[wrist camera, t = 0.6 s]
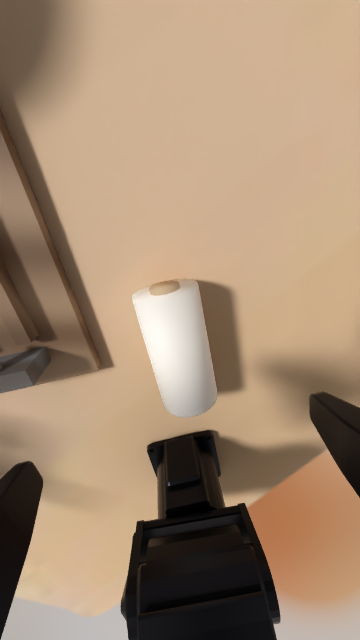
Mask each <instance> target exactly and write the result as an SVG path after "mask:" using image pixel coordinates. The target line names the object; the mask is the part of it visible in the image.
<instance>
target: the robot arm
mask: <svg viewBox="0 0 360 640" xmlns="http://www.w3.org/2000/svg"><path fill="white" fill-rule="evenodd" d="M309 406H310V418H311V420H312V422H313V424H314V426H315V427H316V429H317V431H318V433H319V434H320V436H321V438H322V440H323V441H324V443H325V445H326V446H327V448H328V450H329V452H330V453H331V455H332V457H333V459H334V460H335V462H336V464H337V465H338V467H339V469H340V470H341V471H342V473H343V475H344V476H345V477H346V479H347V480H348V482H349V483H350V484H351V486H352V487H353V489H354V490H355V492H356V493H357V494H358V496H359V497H360V408H359V407H357V406H354V405H352V404H350V403H348V402H346V401H343V400H341V399H339V398H337V397H335V396H332V395H330V394H328V393H326V392H318V393H314V394H311V395H310V397H309ZM207 436H208V437H207ZM147 452H148V455H149V458H150V461H151V463H152V466H153V469H154V471H155V474H156V477H157V480H158V519H156V520H150V521H144V520H142V521H137V526H136V533H134V536H133V542H132V550H131V556H130V563H129V570H128V576H127V580H126V584H125V588H124V592H123V596H122V600H121V613H122V615H123V616H124V618H125V619H126V621H127V629H128V639H129V640H277V639H276V634H275V630H274V626H273V624H278V623H280V610H279V605H278V600H277V595H276V591H275V587H274V583H273V579H272V575H271V572H270V569H269V566H268V562H267V560H266V557H265V554H264V551H263V549H262V546H261V544H260V541H259V539H258V536H257V534H256V531H255V528H254V526H253V523H252V521H251V518H250V516H249V513H248V510H247V508H246V505H245V503H240V504H238V505H237V506H231V507H225V503H224V499H223V495H222V491H221V487H220V483H219V478H218V477H219V476H220V475H221V472H220V467H219V462H218V458H217V453H216V448H215V443H214V438H213V434H212V432H211V431H205V432H200V433H196V434H192V435H187V436H183V437H178V438H174V439H170V440H165V441H161V442H156V443H152V444H149V445H148V447H147ZM42 488H43V479H42V476H41V475H40V473H39V471H38V470H37V468H36V467H35V465H34V463H33V462H31V461H27V462H22V463H19V464H16V465H15V466H14V467H13V468H12V469H11V470H10V471H8V472H7V473H6V474H5V475H4V476H3V477H2V478H1V479H0V639H1V636H2V633H3V630H4V627H5V623H6V620H7V617H8V613H9V610H10V607H11V604H12V601H13V597H14V594H15V591H16V588H17V585H18V581H19V578H20V575H21V572H22V568H23V565H24V562H25V559H26V555H27V552H28V548H29V545H30V541H31V537H32V533H33V529H34V524H35V520H36V515H37V510H38V506H39V501H40V497H41V492H42Z"/></svg>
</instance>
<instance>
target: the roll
mask: <svg viewBox="0 0 360 640" xmlns="http://www.w3.org/2000/svg"><path fill="white" fill-rule="evenodd" d="M132 300H133V304H134V307H135V310H136V314H137V317H138V321H139V324H140V327H141V331H142V334H143V337H144V341H145V344H146V347H147V351H148V354H149V357H150V361H151V364H152V368H153V371H154V374H155V378H156V381H157V384H158V388H159V391H160V394H161V398H162V401H163V404H164V407H165V409H166V410H167V411H168V412H169V413H171V414H172V415H175V416H178V417H193V416H197V415H200V414H202V413H204V412H206V411H207V410H209V409H210V408H211V407H212V406H213V405H214V403H215V402H216V399H217V395H218V394H217V387H216V382H215V376H214V370H213V365H212V359H211V353H210V348H209V342H208V337H207V331H206V325H205V320H204V314H203V308H202V303H201V297H200V291H199V286H198V282H197V281H195V280H191V279H175V280H170V281H164V282H160V283H157V284H153V285H150V286H147V287H145V288H143V289H141V290H139V291H137V292H136V293H135V294H134V295H133V296H132Z"/></svg>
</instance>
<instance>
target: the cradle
mask: <svg viewBox="0 0 360 640" xmlns="http://www.w3.org/2000/svg"><path fill="white" fill-rule="evenodd" d="M100 365H101V362H100V360H99V357H98V355H97V352H96V350H95V347H94V345H93V342H92V340H91V337H90V335H89V332H88V330H87V327H86V325H85V322H84V320H83V317H82V315H81V312H80V310H79V307H78V305H77V302H76V300H75V297H74V295H73V292H72V290H71V287H70V285H69V282H68V279H67V277H66V274H65V272H64V269H63V267H62V264H61V262H60V259H59V257H58V254H57V252H56V249H55V247H54V244H53V242H52V239H51V237H50V234H49V232H48V229H47V227H46V224H45V222H44V219H43V217H42V214H41V212H40V209H39V207H38V204H37V202H36V199H35V196H34V194H33V191H32V189H31V186H30V184H29V181H28V179H27V176H26V174H25V171H24V169H23V166H22V164H21V161H20V159H19V156H18V154H17V151H16V149H15V146H14V144H13V141H12V139H11V136H10V134H9V131H8V129H7V126H6V124H5V121H4V119H3V116H2V113H1V111H0V393H3V392H8V391H12V390H17V389H21V388H26V387H30V386H34V385H38V384H43V383H47V382H51V381H56V380H60V379H65V378H69V377H74V376H78V375H82V374H87V373H91V372H96V371H99V368H100Z"/></svg>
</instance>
